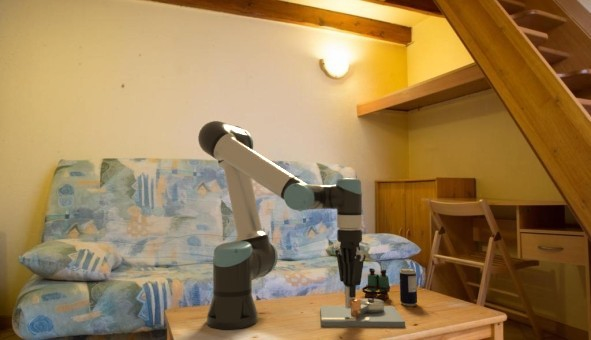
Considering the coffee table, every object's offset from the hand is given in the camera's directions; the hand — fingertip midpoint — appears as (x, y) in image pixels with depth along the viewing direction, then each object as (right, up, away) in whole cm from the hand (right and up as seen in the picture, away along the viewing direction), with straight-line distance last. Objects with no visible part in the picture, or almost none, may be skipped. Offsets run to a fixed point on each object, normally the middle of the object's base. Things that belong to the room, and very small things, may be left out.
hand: (350, 307), depth 116 cm
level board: (+3, -4, +3) cm, 6 cm away
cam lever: (+5, -3, +3) cm, 7 cm away
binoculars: (+13, -6, +26) cm, 30 cm away
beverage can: (+23, -6, +18) cm, 30 cm away
